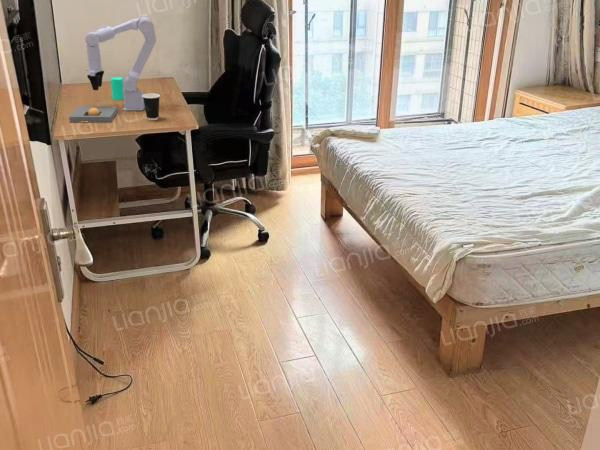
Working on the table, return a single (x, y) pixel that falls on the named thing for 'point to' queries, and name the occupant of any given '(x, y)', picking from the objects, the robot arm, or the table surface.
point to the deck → (105, 116)
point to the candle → (117, 88)
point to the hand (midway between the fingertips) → (97, 88)
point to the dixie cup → (151, 105)
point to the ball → (93, 112)
